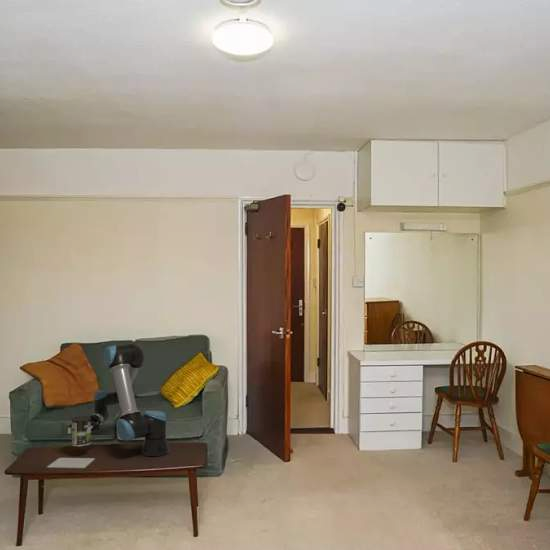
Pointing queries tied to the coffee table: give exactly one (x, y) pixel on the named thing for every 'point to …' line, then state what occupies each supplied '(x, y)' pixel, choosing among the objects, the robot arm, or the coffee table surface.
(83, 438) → the coffee can
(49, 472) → the coffee table surface
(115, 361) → the robot arm
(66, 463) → the mat
